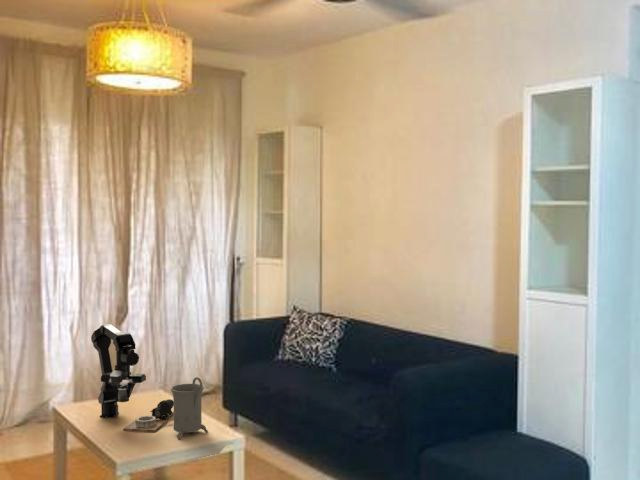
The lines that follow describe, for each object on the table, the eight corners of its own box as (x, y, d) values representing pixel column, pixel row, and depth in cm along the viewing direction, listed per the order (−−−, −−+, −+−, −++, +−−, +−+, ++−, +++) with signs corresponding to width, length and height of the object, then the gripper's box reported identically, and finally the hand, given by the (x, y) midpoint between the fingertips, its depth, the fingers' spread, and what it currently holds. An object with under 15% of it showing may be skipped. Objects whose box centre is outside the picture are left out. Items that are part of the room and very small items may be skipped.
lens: (116, 402, 290) (115, 386, 290) (120, 399, 295) (120, 383, 295) (126, 402, 290) (126, 386, 289) (131, 399, 294) (130, 383, 294)
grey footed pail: (161, 433, 280) (160, 374, 279) (190, 425, 291) (190, 368, 290) (186, 443, 267) (186, 381, 266) (216, 435, 278) (216, 375, 277)
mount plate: (123, 430, 283) (123, 422, 283) (137, 420, 297) (137, 413, 297) (154, 432, 281) (154, 424, 281) (167, 422, 295) (167, 414, 295)
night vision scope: (169, 416, 312) (184, 403, 310) (154, 429, 294) (171, 415, 293) (158, 403, 312) (174, 390, 311) (143, 415, 294) (159, 401, 293)
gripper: (94, 365, 285) (94, 401, 286) (135, 366, 282) (136, 403, 283) (106, 359, 296) (106, 394, 297) (146, 361, 293) (146, 396, 294)
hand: (123, 397), depth 292 cm, fingers closed on lens, 5 cm apart
